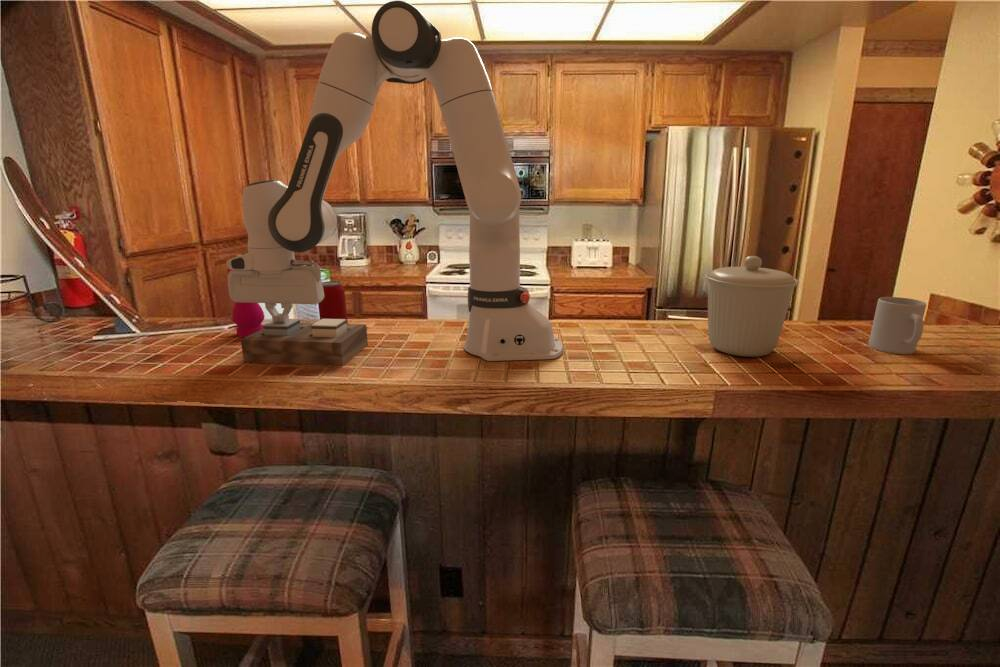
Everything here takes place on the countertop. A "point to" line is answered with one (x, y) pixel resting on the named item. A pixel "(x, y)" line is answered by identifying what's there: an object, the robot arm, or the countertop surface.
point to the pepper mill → (247, 317)
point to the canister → (747, 307)
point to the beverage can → (333, 301)
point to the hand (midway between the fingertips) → (280, 322)
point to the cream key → (329, 328)
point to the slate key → (282, 328)
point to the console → (305, 346)
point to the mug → (897, 325)
